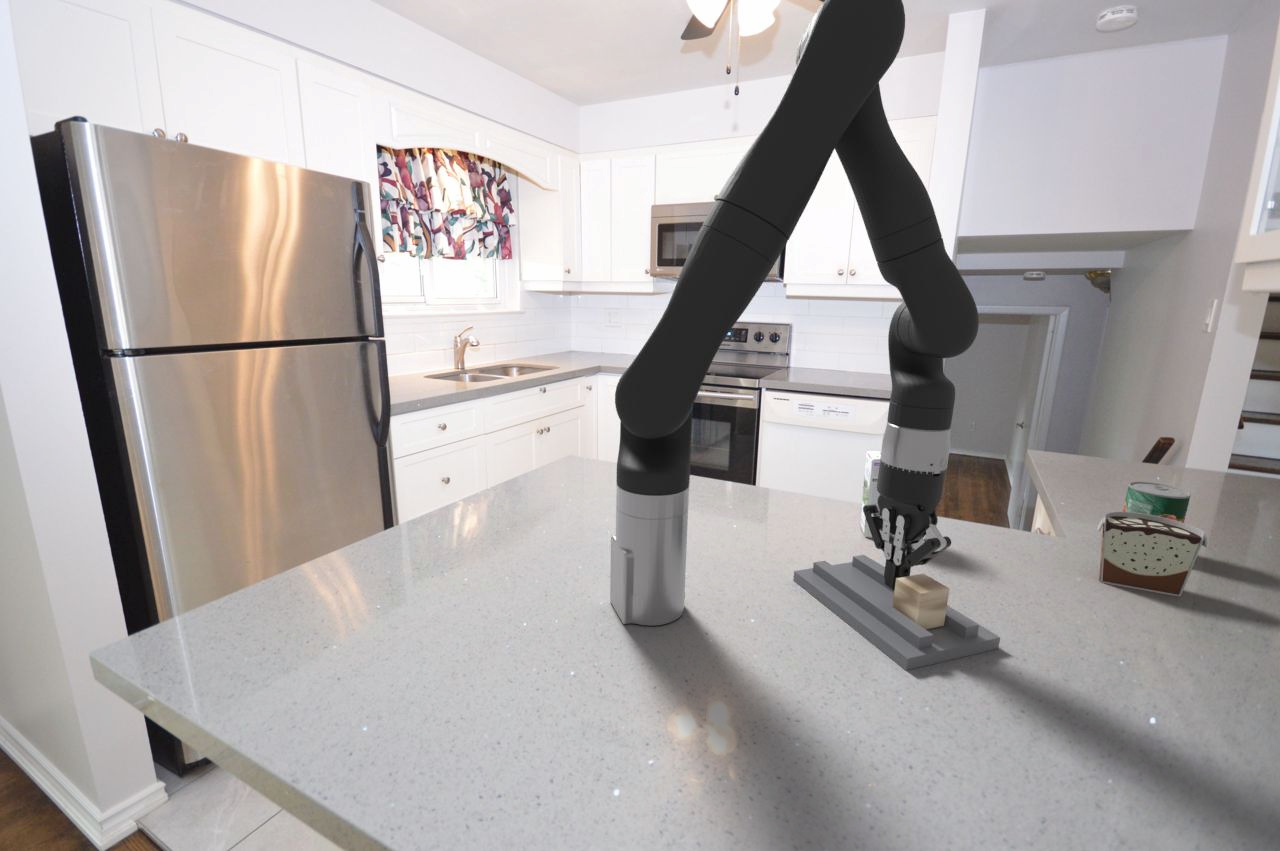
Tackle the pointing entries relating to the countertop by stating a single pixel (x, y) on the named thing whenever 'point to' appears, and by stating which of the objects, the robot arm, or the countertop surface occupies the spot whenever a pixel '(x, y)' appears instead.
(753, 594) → the countertop surface
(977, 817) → the countertop surface
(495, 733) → the countertop surface
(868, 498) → the syrup box
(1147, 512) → the canned tomato
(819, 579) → the grey rail board
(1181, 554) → the food container
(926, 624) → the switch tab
